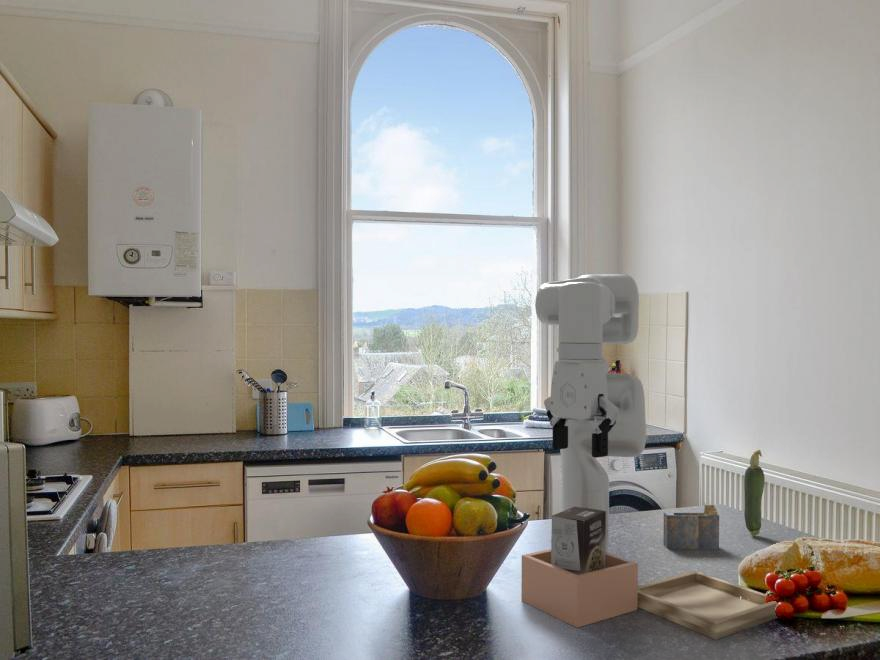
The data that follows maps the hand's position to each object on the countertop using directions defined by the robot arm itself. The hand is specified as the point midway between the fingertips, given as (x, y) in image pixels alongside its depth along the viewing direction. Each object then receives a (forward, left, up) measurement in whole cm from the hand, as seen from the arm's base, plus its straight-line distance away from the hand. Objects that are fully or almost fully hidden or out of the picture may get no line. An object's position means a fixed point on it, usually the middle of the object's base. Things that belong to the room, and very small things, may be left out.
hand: (579, 452), depth 129 cm
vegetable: (-10, +65, -27) cm, 71 cm away
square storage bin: (0, 0, -27) cm, 27 cm away
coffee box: (0, 0, -27) cm, 27 cm away
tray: (+13, +17, -27) cm, 34 cm away
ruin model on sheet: (-12, +45, -27) cm, 54 cm away
